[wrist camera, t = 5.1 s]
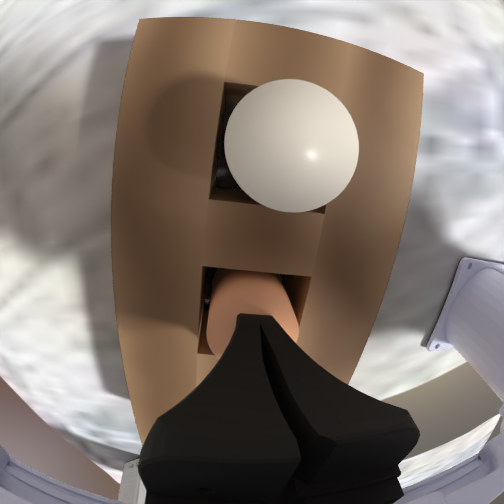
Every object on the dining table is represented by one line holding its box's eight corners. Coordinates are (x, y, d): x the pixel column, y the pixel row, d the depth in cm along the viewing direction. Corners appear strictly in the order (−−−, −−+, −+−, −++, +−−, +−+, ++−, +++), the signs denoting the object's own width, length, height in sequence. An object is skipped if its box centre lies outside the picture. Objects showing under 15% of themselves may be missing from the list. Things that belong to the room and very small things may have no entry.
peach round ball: (286, 257, 15) (307, 299, 10) (274, 317, 16) (288, 370, 12) (215, 250, 14) (209, 291, 10) (210, 312, 15) (204, 366, 11)
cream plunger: (319, 114, 11) (366, 97, 6) (307, 197, 12) (346, 221, 8) (233, 100, 10) (234, 69, 6) (221, 185, 11) (216, 203, 7)
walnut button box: (382, 87, 13) (423, 73, 9) (301, 416, 20) (310, 454, 16) (161, 49, 11) (139, 19, 7) (151, 406, 19) (142, 446, 15)
